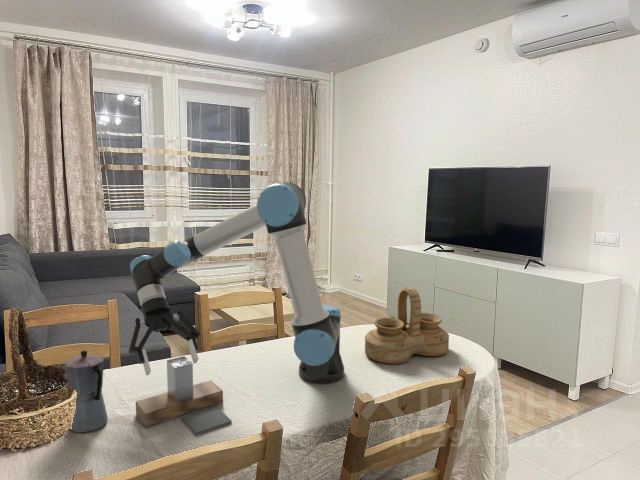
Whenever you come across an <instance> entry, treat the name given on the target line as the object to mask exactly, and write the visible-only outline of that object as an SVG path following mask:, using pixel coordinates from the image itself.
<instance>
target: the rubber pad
mask: <svg viewBox="0 0 640 480" xmlns="http://www.w3.org/2000/svg"><path fill="white" fill-rule="evenodd" d="M180 420H181V421H182V422H183V423H184V424H185V425H186V426H187V427H188V429H189V430H190V431H191V432H192V433H193V434H194V435H195V436H199V435H202V434H204V433H208V432H210V431H214V430H216V429H219V428H221V427H225V426H228V425H230V424H231V425H232V422H233V420H232V419H231V418H229V416H227V415H226V413H224V412H223V411H222V410H221V409H220V408H219V407H218V406H217V405H216V406H215V405H214V406H211V407H208V408H205V409H201V410H198V411H195V412H192V413H189V414H186V415H183V416H181V417H180Z"/></svg>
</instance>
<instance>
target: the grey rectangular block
mask: <svg viewBox="0 0 640 480" xmlns="http://www.w3.org/2000/svg"><path fill="white" fill-rule="evenodd" d="M193 366H194V363H193V361H192V362H191V360H189V358H188V357H186V356H180V357H173V358H171V359H166V372H167V373H166V379H167V384H166V385H167V392H168V395H169V396H170V397H171V398H172V399H173V400H174V401H175V402H180V401H183V400H186V399H190V398H193V385H194V372H193V371H194V370H193V368H194V367H193Z"/></svg>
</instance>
